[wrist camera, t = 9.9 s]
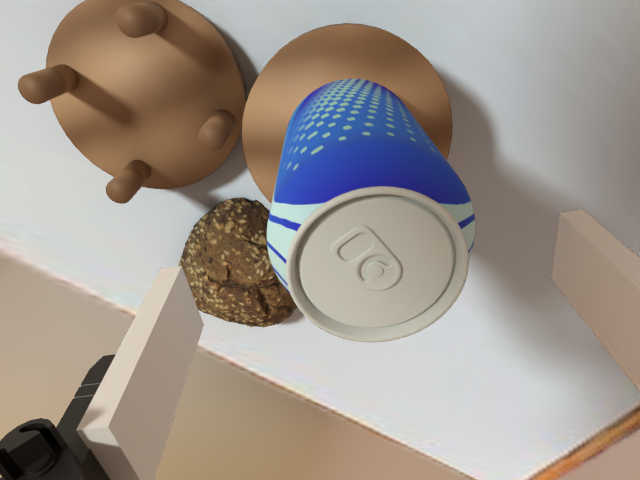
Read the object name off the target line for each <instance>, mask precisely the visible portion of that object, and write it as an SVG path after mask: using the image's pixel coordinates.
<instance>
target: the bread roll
mask: <svg viewBox="0 0 640 480" xmlns="http://www.w3.org/2000/svg"><path fill="white" fill-rule="evenodd" d="M268 218H269V212H268V211H267V210H266V209H265V207H264V206H263V205H262V204H261V203H260V202H258V201H257V200H255V201H251V200H249V201H248V200H247V199H245V198H232V199H227V200H226V201H224V202H220V203H219V204H218V205H217V206H216V207H215V208H213V209H212V210H211V211H209V212H208V213H207V214H205V215H204V216H203V217H202V218H201V219H200V220H199V221H198V222H197V223H196V224H195V225H194V228H193V230H192V231H191V232H190V236H189V238H188V240H187V242H186V243H185V248H184V250H183V254H182V256H181V260H180V262H179V266H182V268H183V271H184V273H185V276H186V279H187V281H188V284H189V287H190V289H191V292H192V295H193V297H194V300H195V303H196V305H197V308H198V310H200V311H202V312H204V313H206V314H210V315H213V316H215V317H218V318H219V319H223V320H225V321H229V322H235V323H238V324H245V325H247V326H249V325H250V327H252V326H259V327H262V326H263V327H267V326H270V325H275V324H279V323H280V322H281V321H284V320H285V319H286V318H289V317H290V316H291V314H292V313H293V311H294V309H295V308H296V307H297V305H296V304H295V302H294V300H293V298H292V296H291V295H290V294H289V293H288V291H287V290H286V289H285V288H284V286H283V285H282V284H281V282H280V280H279V279H278V277H277V275H276V273H275V271H274V269H273V267H272V264H271V261H270V258H269V254H268V248H267V223H268Z"/></svg>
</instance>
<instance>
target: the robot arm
mask: <svg viewBox="0 0 640 480" xmlns="http://www.w3.org/2000/svg"><path fill="white" fill-rule="evenodd" d="M551 279H552V281H553V282H554V283H555V284H556V286H557V287H558V288H559V289H560V291H561V292H562V293H563V295H564V296H565V297H566V298H567V300H568V301H569V302H570V303H571V305H572V306H573V307H574V309H575V310H576V311H577V312H578V314H579V315H580V316H581V317H582V319H583V320H584V321H585V323H586V324H587V325H588V326H589V328H590V329H591V330H592V331H593V333H594V334H595V335H596V337H597V338H598V339H599V340H600V342H601V343H602V344H603V345H604V347H605V348H606V349H607V350H608V352H609V353H610V354H611V356H612V357H613V358H614V359H615V361H616V362H617V363H618V364H619V366H620V367H621V368H622V370H623V371H624V372H625V373H626V375H627V376H628V377H629V378H630V380H631V381H632V382H633V384H634V385H635V386H636V387H637V389H638V390H639V391H640V258H639V257H638V256H637V255H635V254H634V253H633V252H632V251H631V250H630V249H628V248H627V247H626V246H625V245H624V244H623V243H622V242H620V241H619V240H618V239H617V238H616V237H615V236H613V235H612V234H611V233H610V232H609V231H608V230H606V229H605V228H604V227H603V226H602V225H601V224H599V223H598V222H597V221H596V220H595V219H594V218H593V217H591V216H590V215H589V214H588V213H587V212H586V211H584V210H576V211H569V212H561V213H560V215H559V223H558V231H557V239H556V246H555V254H554V262H553V270H552V278H551ZM203 325H204V324H203V322H202V319H201V316H200V314H199V311H198V308H197V305H196V303H195V300H194V297H193V295H192V292H191V289H190V287H189V284H188V281H187V279H186V276H185V273H184V271H183V268H182V266H176V267H169V268H162V269H160V271H159V273H158V275H157V277H156V279H155V281H154V283H153V285H152V287H151V288H150V290H149V292H148V294H147V296H146V298H145V300H144V302H143V304H142V306H141V307H140V309H139V311H138V313H137V315H136V317H135V319H134V321H133V323H132V325H131V327H130V329H129V330H128V332H127V334H126V336H125V338H124V340H123V342H122V344H121V346H120V347H119V350H118V352H117V353H116V354H115V355H107V356H103V357H102V358H101V359H100V360H99V361H98V362H97V363H96V364H95V365H94V366H93V367H92V368H91V369H90V370H89V371H88V373H87V375H86V377H85V378H84V380H83V382H82V384H81V387H79V389H78V391H77V392H76V394H75V396H74V397H75V398H74V399H73V400H72V401H71V403H70V405H69V406H68V408H67V410H66V412H65V413H64V415H63V417H62V419H61V420H60V422H59V424H58V426H57V427H55V426H54V424H53V423H52V422H51V421H50V420H48V419H42V418H40V419H35V420H30V421H28V422H26V423H24V424H21V425H20V426H17V427H16V428H15V429H13V430H12V431H11V432H9V433H8V434H7V435H6V436H5V437H4V438H3V439H2V440H1V441H0V474H1V475H2V478H0V480H154V479H155V476H156V473H157V470H158V467H159V464H160V460H161V457H162V454H163V451H164V448H165V445H166V441H167V438H168V435H169V432H170V429H171V426H172V423H173V420H174V416H175V413H176V410H177V407H178V404H179V400H180V397H181V394H182V391H183V388H184V385H185V381H186V379H187V375H188V372H189V369H190V366H191V363H192V360H193V356H194V353H195V350H196V347H197V344H198V341H199V338H200V334H201V331H202V328H203Z"/></svg>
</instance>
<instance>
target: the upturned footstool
mask: <svg viewBox="0 0 640 480" xmlns="http://www.w3.org/2000/svg"><path fill="white" fill-rule="evenodd" d="M18 89H19V92H20V93H21V95H22V96H23V97H24V98H25V99H26V100H27V101H29V102H30V103H33V104H41V103H44V102H46V101H48V100H50V102H51V105H52V108H53V111H54V113H55V115H56V117H57V119H58V121H59V124H60V125H61V127H62V128H63V130H64V132H65V133H66V135H67V136H68V138H69V139H70V140H71V142H72V143H73V144H74V145H75V147H76V148H77V149H78V150H79V151H80V152H81V153H82V154H83V155H84V156H85V157H86V158H87V159H89V160H90V161H91V162H92V163H93V164H95V165H96V166H97V167H99V168H100V169H102V170H103V171H105V172H106V173H108V174H110V175H112V176H113V177H114V178H113V179H112V180H111V181H110V182H109V183H108V184H107V186H106V193H107V195H108V197H109V198H110V199H111V200H112V201H114V202H116V203H121V204H122V203H127V202H128V201H130V199H131V198H132V197H133V196H134V195H135V194H136V192H137V191H138V190H139V189H140V188H141V187H147V188H155V189H171V188H178V187H183V186H187V185H190V184H193V183H195V182H197V181H200V180H202V179H204V178H205V177H207V176H208V175H210V174H211V173H213V172H214V171H215V170H216V169H217V168H218V167H219V166H221V164H222V163H223V162H224V161H225V160H226V158H227V157H228V156H229V154H230V152H231V151H232V149H233V147H234V145H235V144H236V142H237V139H238V137H239V135H240V132H241V130H242V122H243V114H244V110H245V106H246V94H245V86H244V81H243V77H242V73H241V70H240V67H239V65H238V62H237V60H236V58H235V56H234V54H233V52H232V50H231V48H230V46H229V45H228V43H227V42H226V40H225V39H224V38H223V36H222V35H221V34H220V32H219V31H218V30H217V29H216V28H215V27H214V26H213V24H211V23H210V22H209V21H208V20H207V19H206V18H205V17H204V16H203V15H201V14H200V13H199V12H197V11H196V10H194V9H193V8H192V7H190V6H188V5H187V4H185V3H183V2H181V1H179V0H85V1H84V2H82V3H80V4H79V5H77V6H76V7H75V8H74V9H73V10H71V11H70V12H69V13H68V14H67V15H66V16H65V18H64V19H63V20H62V21H61V23H60V24H59V26H58V27H57V29H56V31H55V33H54V34H53V37H52V40H51V43H50V45H49V49H48V54H47V59H46V69H43V70H40V71H37V72H33V73H30V74H27V75H24V76H22V77H21V78H20V79H19V81H18Z"/></svg>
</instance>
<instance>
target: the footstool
mask: <svg viewBox="0 0 640 480" xmlns="http://www.w3.org/2000/svg"><path fill="white" fill-rule="evenodd" d="M343 79H363V80H368V81H372V82H375V83H378V84H380V85H382V86H384V87H386V88H387V89H389V90H390V91H392V92H393V93H394V94H395V95H396V96H397V97H399V98H400V100H401V101H402V102H403V103H404V104H405V106H406V107H407V108H408V110H409V111H410V112H411V114H412V115H413V117H414V118H415V119H416V121H417V122H418V123H419V125H420V126H421V127H422V129H423V130H424V131H425V133H426V134H427V135H428V137H429V138H430V139H431V141H432V142H433V143H434V145H435V146H436V147H437V149H438V150H439V151H440V153H441V154H442V155H443V157H444V158H445V159H446V160H447V157H448V154H449V150H450V145H451V139H452V113H451V107H450V103H449V98H448V95H447V93H446V90H445V87H444V85H443V83H442V81H441V79H440V77H439V75H438V74H437V72H436V70H435V69H434V68H433V66H432V65H431V64H430V62H429V61H428V60H427V59H426V58H425V57H424V56H423V55H422V54H421V53H420V52H419V51H418V50H417V49H415V48H414V47H413V46H411V45H410V44H409V43H407V42H406V41H404V40H403V39H401V38H400V37H398V36H396V35H394V34H392V33H390V32H388V31H385V30H382V29H380V28H377V27H373V26H368V25H363V24H350V23H344V24H334V25H328V26H324V27H320V28H317V29H314V30H312V31H309V32H307V33H304V34H302V35H301V36H299V37H297V38H295V39H294V40H292V41H290V42H289V43H288V44H287V45H285V46H284V47H283V48H281V49H280V50H279V51H278V52H277V53H276V54H275V55H274V56H273V57H272V58H271V59H270V60H269V62H268V63H267V64H266V66H265V67H264V69H263V70H262V71H261V73H260V74H259V76H258V78H257V80H256V81H255V83H254V85H253V87H252V89H251V91H250V94H249V97H248V99H247V102H246V106H245V110H244V114H243V122H242V144H243V150H244V155H245V159H246V162H247V165H248V169H249V171H250V173H251V175H252V177H253V179H254V181H255V183H256V185H257V186H258V188H259V189H260V191H261V192H262V193H263V195H264V196H265V197H266V198H267V199H268V201H269V202H270V203H272V199H273V194H274V189H275V184H276V179H277V174H278V169H279V165H280V160H281V155H282V150H283V145H284V140H285V135H286V131H287V127H288V124H289V121H290V119H291V117H292V115H293V113H294V111H295V110H296V108H297V107H298V105H299V104H300V103H301V102H302V101H303V100H304V99H305V98H306V97H307V96H308V95H309V94H310V93H312V92H313V91H314V90H316V89H318V88H319V87H321V86H323V85H325V84H328V83H330V82H334V81H337V80H343Z"/></svg>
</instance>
